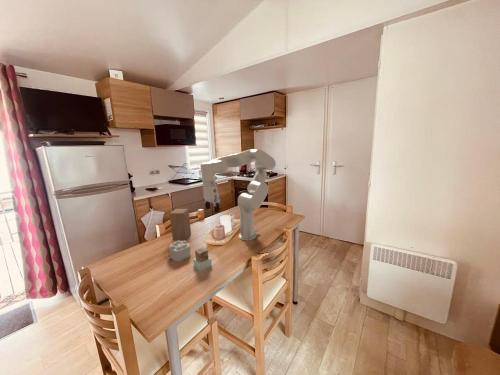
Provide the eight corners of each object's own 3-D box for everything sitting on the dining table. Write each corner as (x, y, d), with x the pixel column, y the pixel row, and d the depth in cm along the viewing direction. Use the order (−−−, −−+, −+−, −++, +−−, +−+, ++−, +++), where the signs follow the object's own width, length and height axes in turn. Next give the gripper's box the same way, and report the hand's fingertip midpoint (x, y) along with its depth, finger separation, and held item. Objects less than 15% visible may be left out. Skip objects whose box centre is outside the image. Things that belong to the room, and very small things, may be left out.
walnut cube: (203, 255, 114) (203, 247, 113) (208, 258, 110) (207, 250, 109) (195, 258, 110) (194, 250, 109) (200, 262, 107) (199, 253, 106)
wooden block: (191, 233, 153) (188, 208, 148) (186, 240, 143) (182, 213, 139) (178, 233, 154) (175, 208, 149) (172, 239, 144) (169, 213, 140)
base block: (205, 260, 116) (204, 253, 115) (211, 265, 111) (211, 258, 110) (193, 265, 111) (193, 258, 110) (200, 270, 106) (199, 264, 105)
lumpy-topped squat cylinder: (177, 263, 114) (175, 250, 113) (166, 256, 123) (164, 242, 121) (193, 256, 122) (191, 243, 120) (182, 249, 131) (180, 236, 129)
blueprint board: (210, 253, 123) (210, 252, 123) (224, 263, 113) (224, 262, 113) (186, 265, 113) (185, 263, 113) (198, 276, 103) (198, 275, 103)
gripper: (223, 183, 116) (226, 211, 120) (206, 180, 128) (209, 206, 132) (212, 186, 111) (215, 215, 115) (196, 183, 123) (199, 209, 127)
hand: (212, 210), depth 123 cm, fingers open, 9 cm apart
